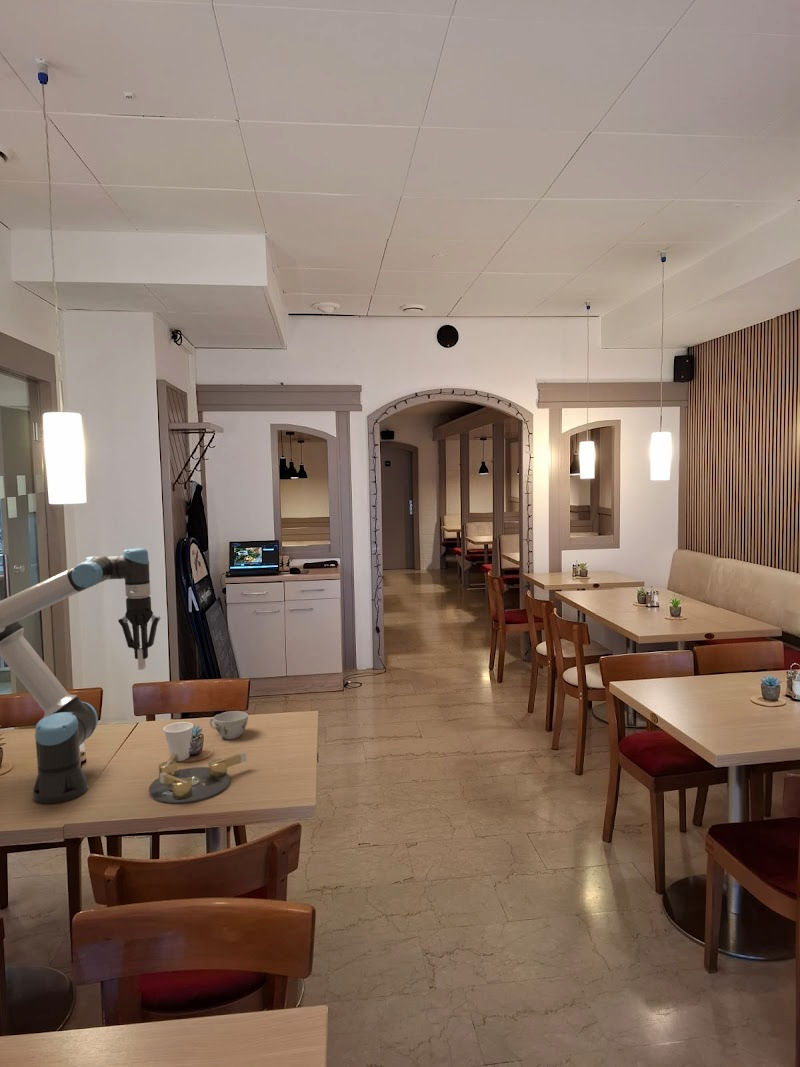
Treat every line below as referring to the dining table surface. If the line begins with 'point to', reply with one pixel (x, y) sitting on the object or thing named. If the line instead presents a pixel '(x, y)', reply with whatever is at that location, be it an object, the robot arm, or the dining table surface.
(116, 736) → the dining table surface
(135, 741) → the dining table surface
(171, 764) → the knob left
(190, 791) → the knob front
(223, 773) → the knob right
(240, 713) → the teacup
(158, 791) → the plate
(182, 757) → the cup
